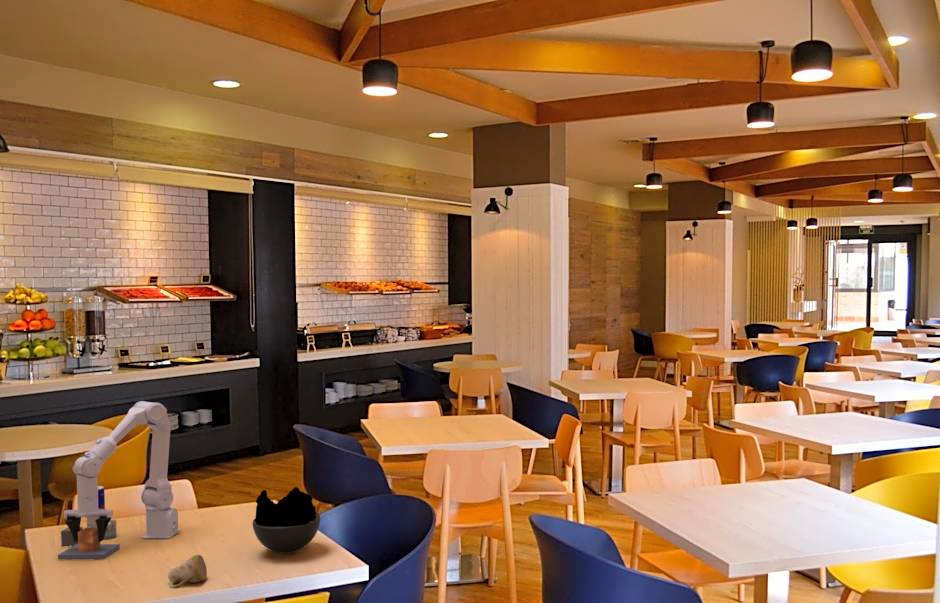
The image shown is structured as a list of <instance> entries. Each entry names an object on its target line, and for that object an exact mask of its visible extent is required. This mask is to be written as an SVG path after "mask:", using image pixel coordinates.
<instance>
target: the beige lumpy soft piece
mask: <svg viewBox="0 0 940 603" xmlns="http://www.w3.org/2000/svg"><path fill="white" fill-rule="evenodd" d="M205 562H206V561H205V560H204V557H203V556H202V555H201V554H197V555H193V556H191V557H189V558H188V559H187V560H185V561H184V562H182V564H180V565H179V566H176V567H174V568H171V569H170V570H169V571H168V573H167V577H168V578H167V579H168V580H169V582H170V584H168V585H169V588H171V589H175V588H176V589H177V588H180V587H182V586H183V585H185V584H186V583H192V584H193V583H200V582H203V581H205V580H206V579H207V576H208V571H207V565H206V563H205Z"/></svg>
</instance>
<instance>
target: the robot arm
mask: <svg viewBox="0 0 940 603" xmlns="http://www.w3.org/2000/svg"><path fill="white" fill-rule="evenodd" d="M142 425H147V426H148V427H149V428H150V429H151V430H152V434H151V438H152V439H151V450H150V462H149V463H150V464H149V475H148V476H149V478H148V479H147V480H146V481H145V483H144V487H143V491H142V492H141V494H140V496H141V497H140V499H141V502H142V503H143V505H144V508H145V525H146V526H145V528H146V533H145V534H144V535H142V536H141V537H140V538H141V539H170V538H172V537H173V536H175V535H176V534H178V533H179V532H180V529H179V515H178V514H179V512H178V510H177V508H176V507H175V508H174V507H171V505H172V504H173V501H174V494H173V491H172V483H171V482H170V481H169V480H168V469H169V454H170V443H171V442H170V440H171V426H172V425H171V420H170V419H169V416H168V409H167V408H166V407H165V406H164V405H163V404H162V403H160V402H151V401H145V400H141V401H137V402H135V404H134V405H133V406H132V407H131V408H129V410H128V412H127V414H126V415H125V417H124V418H123V419H122V420H121V421H120V422H119V423H118V424H117V426H116V427H115V428H114V429H113V430H112V431H111V432H110V434H109V435H108V436H104V437H103V436H102V437H101V438H97V440H95V444H94V445H93V446H92V447H91V448H90V449H89V450H88V451H86V452H84V456H81V457H78V458H77V459H76V461H75V462H74V465H73V466H72V471H73V473H74V474H75V475H76V476H75V477H76V493H77V494H76V496H77V498H76V499H77V509H67V510H64V511H63V519H66V520H65V521H64V523H65V525H66V526H67V528H68V527H69V529H70V531H71V533H72V536H73V539H74V542H77V541H78V532H79V531H80V527H81V522H82V518H87V517H99V518H98V519H97V520H95V521H96V524H97V529H98V541H99V542H100V543H101V542H103V541H104V540H105V539H104V537H105V532H106V529H107V526H108V524H109V522H110V520H112V517H113V516H114V510H113V509H107V508H105V509H98V486H99V485H98V484H99V483H98V482H99V481H98V480H99V479H98V474H100V472H101V470H102V465H104V463H105V462H106V461H107V460H108V459H109V457H111V456H112V455H113V454H114V453H115V451H116V450H117V444H118V443H119V442H120V441H121V440H122V439H123V438H124V437H125V436H126V435H127V434H128V433H129V432H130V431H132V430H133V429H134V428H135V427H136V426H142Z"/></svg>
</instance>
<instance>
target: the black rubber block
mask: <svg viewBox="0 0 940 603" xmlns="http://www.w3.org/2000/svg"><path fill="white" fill-rule="evenodd" d="M82 529H84V528H83V526H80V530H82ZM60 534H61V536H60V537H61V538H60V539H61V541H60V542H61V547H62V546H70V545H71V546H74V545H76V544H78V541H77V542H74V539H73V536H72V533H71V531H70V529H69V527H68V526H67V527H66V528H64V529H62V530H61V531H60Z"/></svg>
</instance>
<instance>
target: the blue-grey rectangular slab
mask: <svg viewBox="0 0 940 603" xmlns="http://www.w3.org/2000/svg"><path fill="white" fill-rule="evenodd" d="M120 546H121V545H120V543H112V544H111V543H105V544H104V543H100V547H99V548H98V549H96V550H95V551H93V552H79V551H78V544H76V545H74V546H72V547H68V548H67V549H66V550H64V551H62V552H60V553H58V554H57V560H58V559H104V560H105V559H107V558H108V557H110V556H111V555H112V554H114V553H116V552H117V551H119V550H120V549H121V547H120ZM106 557H107V558H106Z"/></svg>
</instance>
